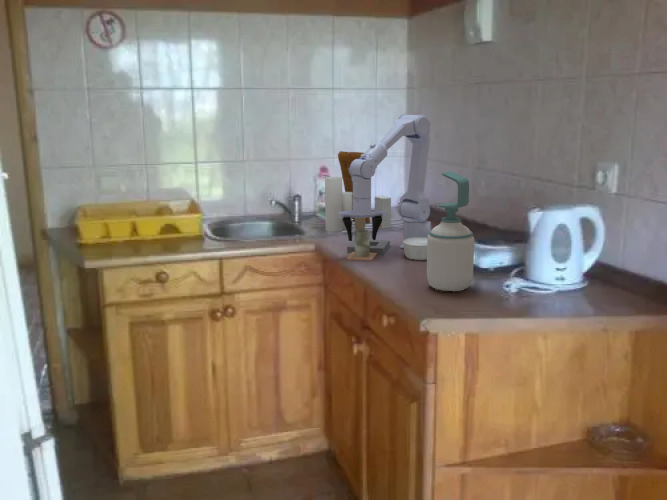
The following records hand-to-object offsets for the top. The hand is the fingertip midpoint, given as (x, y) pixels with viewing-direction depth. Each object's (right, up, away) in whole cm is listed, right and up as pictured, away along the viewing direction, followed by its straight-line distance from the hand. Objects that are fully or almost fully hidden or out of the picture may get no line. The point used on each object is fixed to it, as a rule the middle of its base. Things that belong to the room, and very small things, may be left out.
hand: (362, 240), depth 219 cm
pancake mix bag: (0, +9, +62) cm, 63 cm away
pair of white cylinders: (-7, +5, +45) cm, 46 cm away
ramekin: (+19, -6, +1) cm, 19 cm away
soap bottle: (+22, -14, -33) cm, 42 cm away
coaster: (0, -5, +1) cm, 6 cm away
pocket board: (+3, -3, +12) cm, 12 cm away
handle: (+1, +3, +36) cm, 36 cm away
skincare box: (+10, +5, +48) cm, 49 cm away
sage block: (0, -5, +1) cm, 5 cm away
